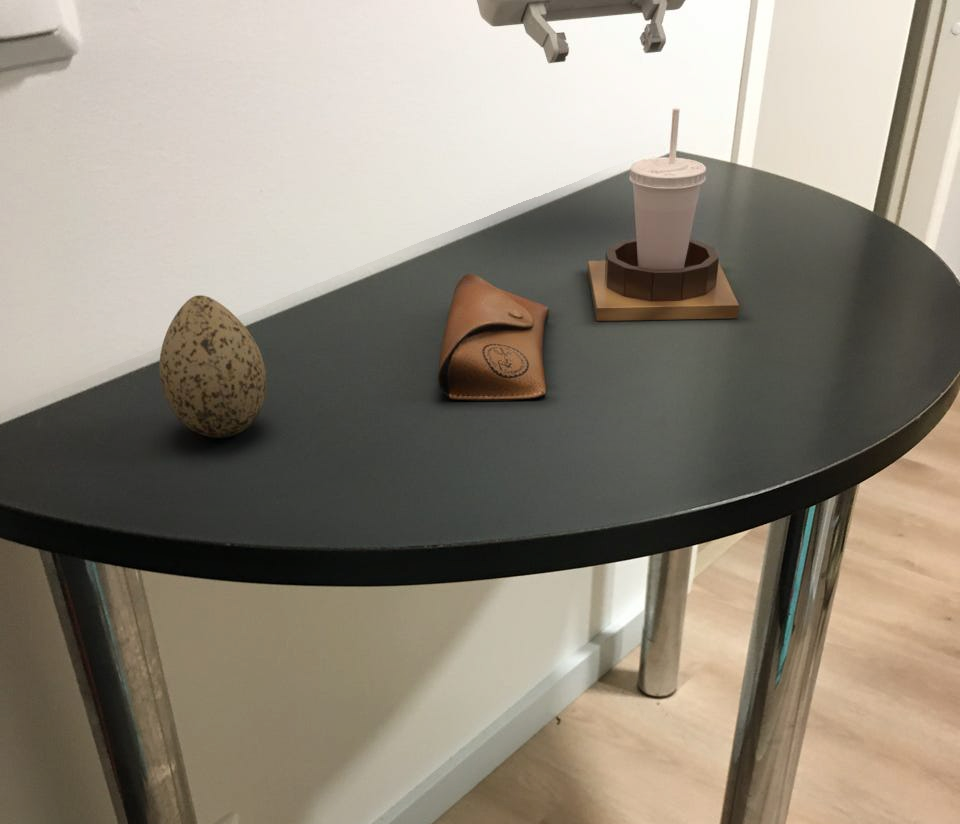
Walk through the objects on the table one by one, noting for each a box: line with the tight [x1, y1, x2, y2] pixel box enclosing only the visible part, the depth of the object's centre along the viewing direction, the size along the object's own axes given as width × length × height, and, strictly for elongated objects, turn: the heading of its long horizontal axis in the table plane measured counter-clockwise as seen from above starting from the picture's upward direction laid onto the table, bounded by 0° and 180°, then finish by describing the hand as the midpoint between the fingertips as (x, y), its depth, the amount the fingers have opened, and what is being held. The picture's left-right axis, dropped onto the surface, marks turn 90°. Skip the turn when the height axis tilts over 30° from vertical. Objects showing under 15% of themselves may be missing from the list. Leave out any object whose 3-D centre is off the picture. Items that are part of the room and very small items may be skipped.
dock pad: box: [587, 237, 740, 322], centre depth 98 cm, size 12×12×4 cm
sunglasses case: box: [437, 273, 550, 402], centre depth 89 cm, size 18×7×7 cm
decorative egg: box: [158, 294, 268, 439], centre depth 76 cm, size 7×7×10 cm
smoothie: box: [628, 108, 707, 269], centre depth 94 cm, size 6×6×14 cm
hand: (608, 53), depth 98 cm, fingers open, 8 cm apart
